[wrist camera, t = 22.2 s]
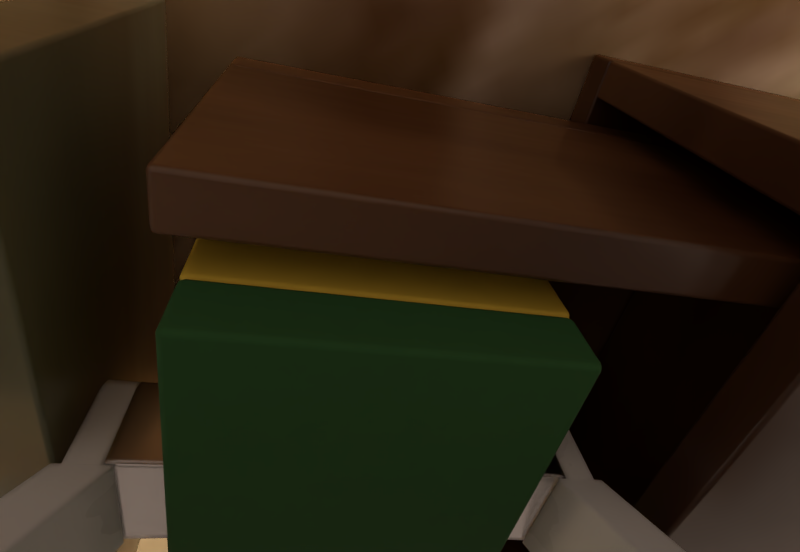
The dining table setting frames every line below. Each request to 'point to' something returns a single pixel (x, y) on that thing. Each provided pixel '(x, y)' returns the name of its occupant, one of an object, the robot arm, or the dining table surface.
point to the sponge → (358, 402)
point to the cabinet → (772, 351)
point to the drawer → (352, 224)
